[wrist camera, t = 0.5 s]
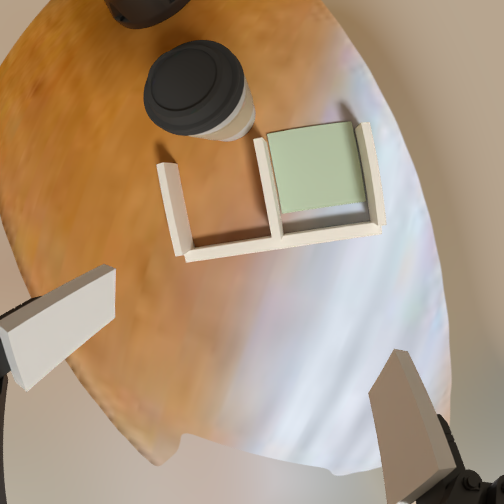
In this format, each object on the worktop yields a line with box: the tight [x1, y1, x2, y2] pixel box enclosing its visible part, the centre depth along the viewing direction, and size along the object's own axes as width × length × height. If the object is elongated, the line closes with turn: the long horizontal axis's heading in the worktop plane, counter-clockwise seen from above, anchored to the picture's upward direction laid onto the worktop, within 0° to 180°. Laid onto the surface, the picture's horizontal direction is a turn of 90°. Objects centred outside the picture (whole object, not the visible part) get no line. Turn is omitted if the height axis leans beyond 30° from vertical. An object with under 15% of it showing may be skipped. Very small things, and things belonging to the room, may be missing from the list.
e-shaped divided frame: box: [156, 122, 386, 262], centre depth 32 cm, size 13×25×4 cm, turn 101°
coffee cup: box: [144, 40, 255, 141], centre depth 26 cm, size 9×9×15 cm
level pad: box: [267, 121, 366, 214], centre depth 32 cm, size 10×10×1 cm
